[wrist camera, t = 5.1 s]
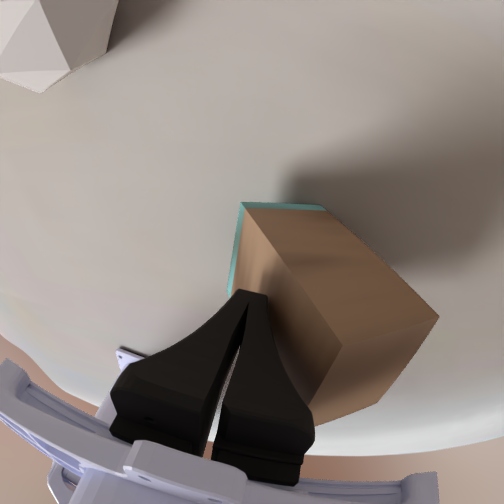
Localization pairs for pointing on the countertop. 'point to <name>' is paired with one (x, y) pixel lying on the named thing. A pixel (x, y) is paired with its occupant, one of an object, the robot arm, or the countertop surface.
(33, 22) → the die
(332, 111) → the countertop surface
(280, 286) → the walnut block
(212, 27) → the countertop surface
